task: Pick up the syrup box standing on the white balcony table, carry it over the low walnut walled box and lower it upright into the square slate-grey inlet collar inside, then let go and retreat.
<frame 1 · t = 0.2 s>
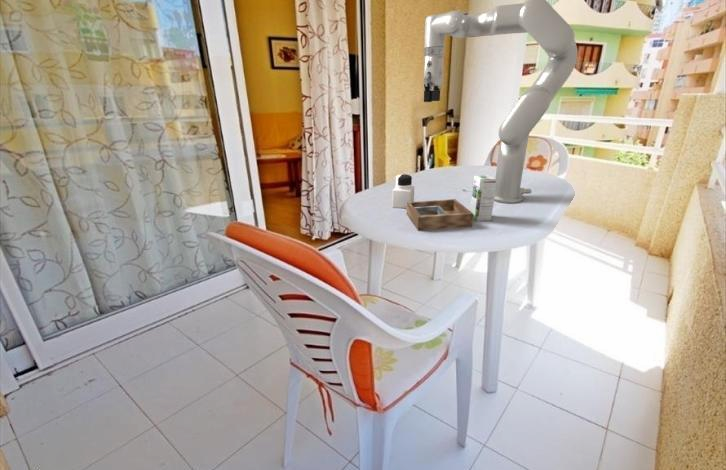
hand: (431, 101, 135), 37 cm above the table, tool pointing down, fingers open, 9 cm apart
syrup box: (480, 218, 117), on the table
medicine bottle: (403, 205, 132), on the table
walled box: (437, 220, 117), on the table
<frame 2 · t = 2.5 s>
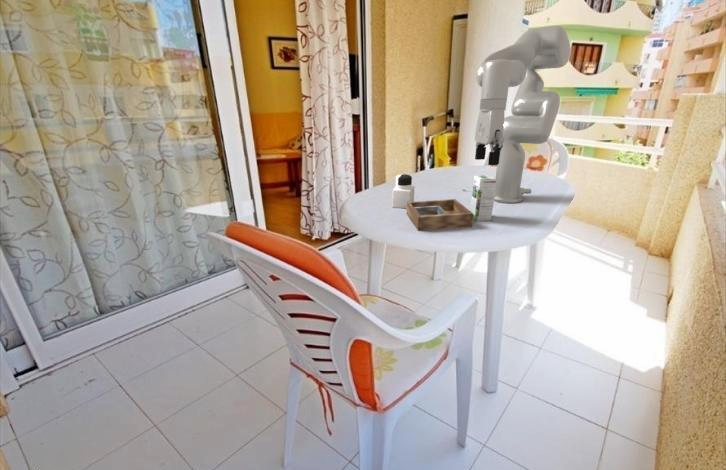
hand: (486, 162, 109), 19 cm above the table, tool pointing down, fingers open, 9 cm apart
nothing on the table moved.
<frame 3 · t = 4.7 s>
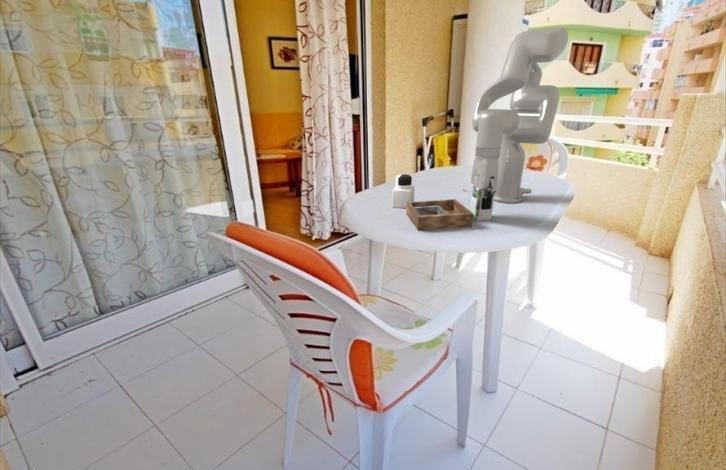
hand: (481, 205, 115), 5 cm above the table, tool pointing down, fingers closed on syrup box, 5 cm apart
syrup box: (480, 218, 117), on the table, touching gripper
everything else where it was.
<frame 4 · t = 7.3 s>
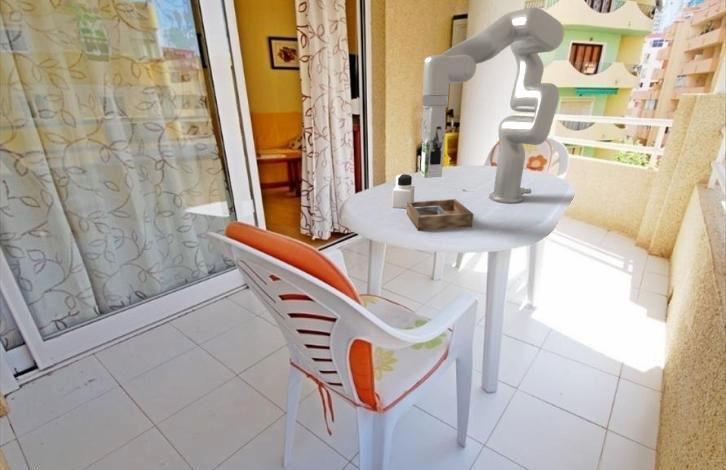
hand: (432, 161, 108), 20 cm above the table, tool pointing down, fingers closed on syrup box, 5 cm apart
syrup box: (431, 176, 110), point 16 cm above the table, touching gripper
everything else where it was.
when the fingers open (6 cm above the table, at t = 9.8 s): syrup box stays where it is, resting on walled box.
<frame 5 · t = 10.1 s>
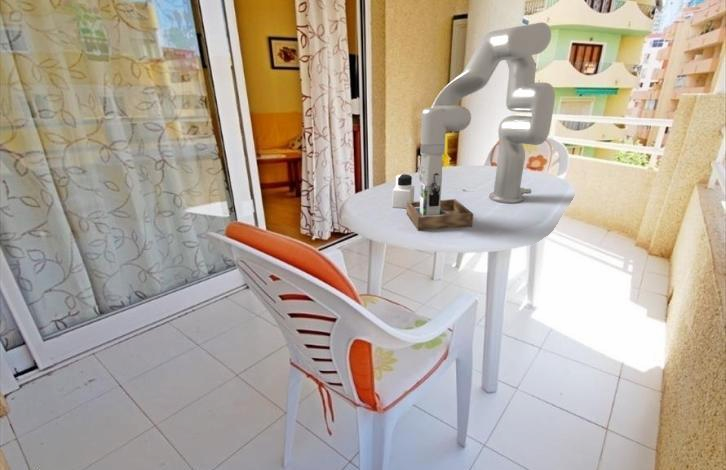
hand: (429, 201, 114), 7 cm above the table, tool pointing down, fingers open, 8 cm apart
syrup box: (429, 218, 116), point 1 cm above the table, touching walled box
everything else where it was.
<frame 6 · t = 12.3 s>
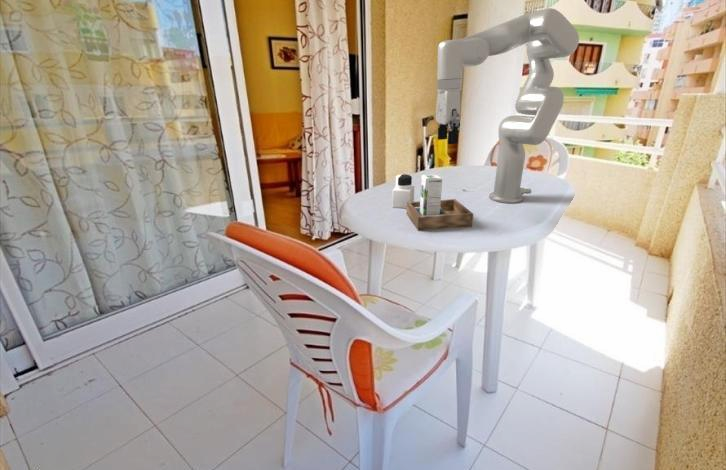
hand: (447, 141, 112), 25 cm above the table, tool pointing down, fingers open, 9 cm apart
nothing on the table moved.
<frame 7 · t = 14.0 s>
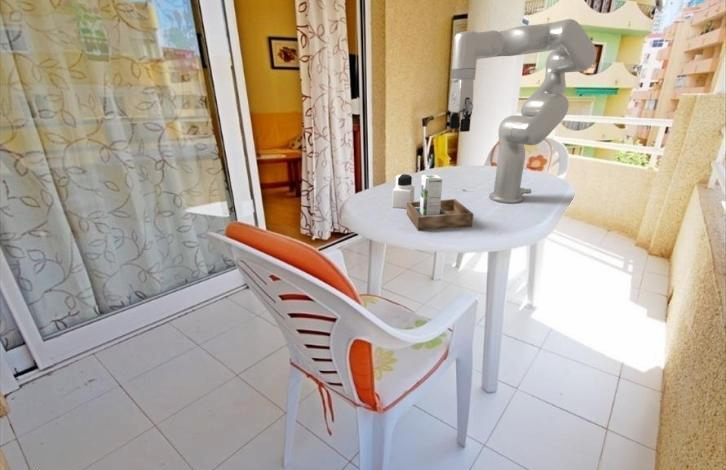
hand: (459, 129, 117), 28 cm above the table, tool pointing down, fingers open, 9 cm apart
nothing on the table moved.
at the end: syrup box 0.2 cm from the target spot on the walled box, point 0.8 cm above the walled box's base; syrup box tilted 0°; the gripper is holding nothing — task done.
